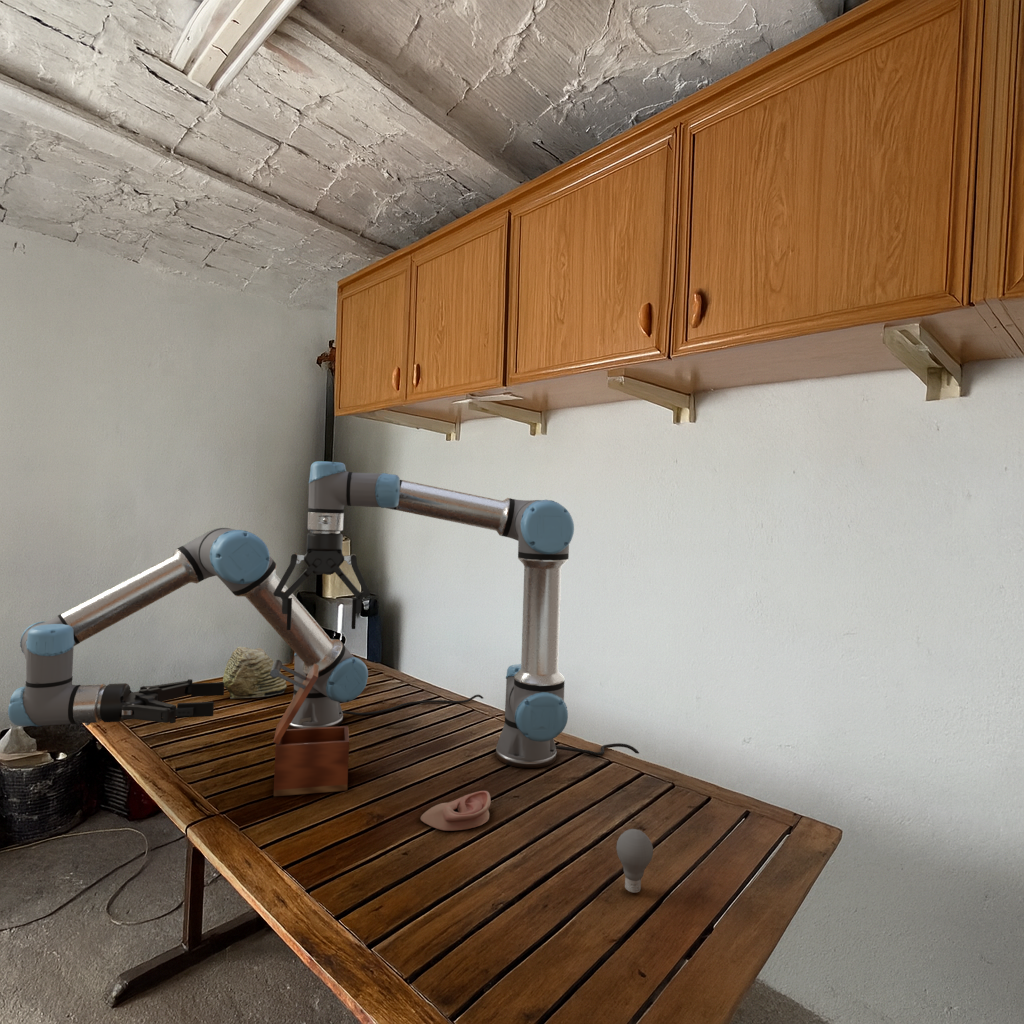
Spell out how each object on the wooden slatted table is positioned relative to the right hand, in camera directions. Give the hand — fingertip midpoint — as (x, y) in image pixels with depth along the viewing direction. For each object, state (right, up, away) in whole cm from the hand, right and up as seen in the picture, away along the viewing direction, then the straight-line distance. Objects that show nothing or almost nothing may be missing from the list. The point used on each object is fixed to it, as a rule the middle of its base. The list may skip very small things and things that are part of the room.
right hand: (321, 628), depth 139 cm
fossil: (-39, -32, +59) cm, 77 cm away
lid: (-5, -16, -1) cm, 17 cm away
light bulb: (+62, -38, -34) cm, 80 cm away
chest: (-2, -34, 0) cm, 34 cm away
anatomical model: (+31, -36, -12) cm, 49 cm away
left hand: (-20, -14, -5) cm, 25 cm away
